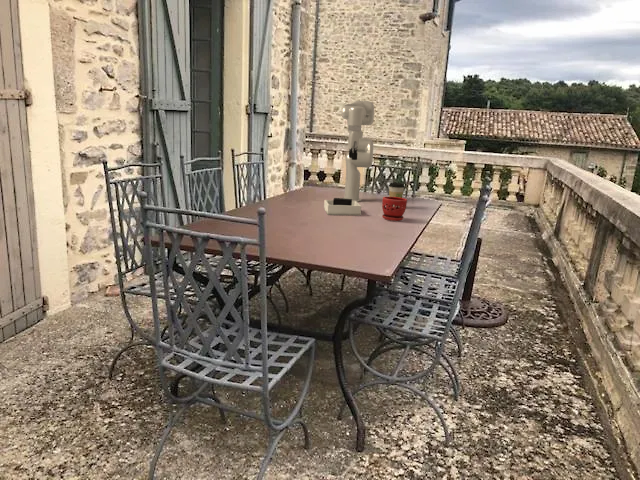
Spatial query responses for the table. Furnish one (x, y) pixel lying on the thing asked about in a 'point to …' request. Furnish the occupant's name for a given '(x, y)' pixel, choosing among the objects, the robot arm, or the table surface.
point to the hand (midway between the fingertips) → (352, 158)
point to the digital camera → (342, 201)
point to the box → (342, 208)
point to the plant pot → (393, 208)
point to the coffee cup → (396, 190)
